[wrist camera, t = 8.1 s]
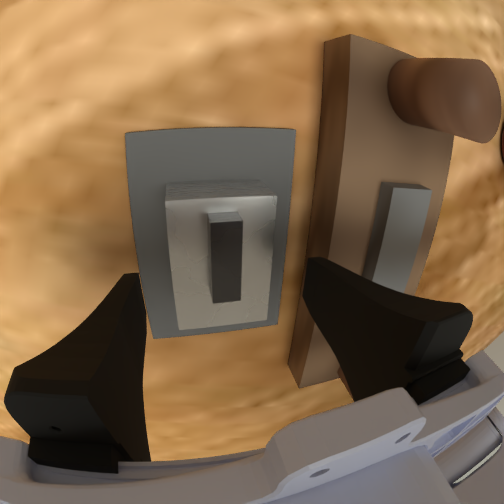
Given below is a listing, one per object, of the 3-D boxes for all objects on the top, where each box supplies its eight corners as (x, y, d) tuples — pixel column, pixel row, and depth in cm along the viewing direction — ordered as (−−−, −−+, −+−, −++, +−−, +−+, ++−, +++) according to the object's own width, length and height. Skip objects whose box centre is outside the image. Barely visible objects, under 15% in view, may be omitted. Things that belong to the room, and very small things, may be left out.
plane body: (370, 344, 24) (412, 400, 18) (287, 364, 22) (322, 437, 16) (430, 76, 14) (519, 87, 8) (324, 41, 12) (421, 18, 6)
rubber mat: (275, 320, 19) (277, 324, 19) (153, 334, 17) (153, 338, 17) (292, 129, 14) (296, 129, 13) (126, 132, 12) (125, 133, 11)
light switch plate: (252, 288, 17) (272, 332, 14) (176, 296, 16) (180, 344, 13) (258, 178, 14) (286, 203, 11) (166, 182, 13) (164, 209, 10)
